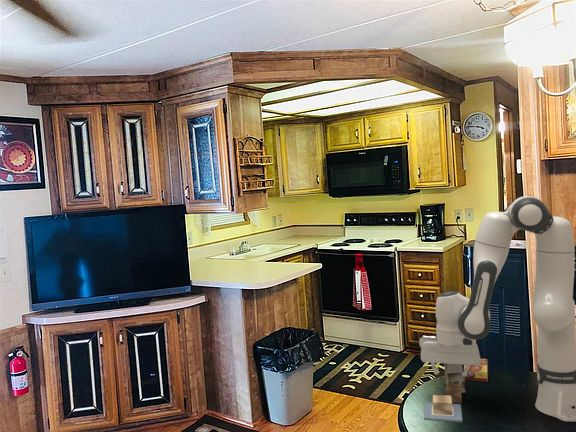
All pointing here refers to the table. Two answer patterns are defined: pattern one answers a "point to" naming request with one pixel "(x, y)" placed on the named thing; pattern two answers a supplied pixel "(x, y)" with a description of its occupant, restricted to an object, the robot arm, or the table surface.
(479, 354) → the robot arm
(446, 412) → the oak block
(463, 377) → the coffee box
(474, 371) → the candy box
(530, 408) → the table surface
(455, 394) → the walnut cube
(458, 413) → the plate
